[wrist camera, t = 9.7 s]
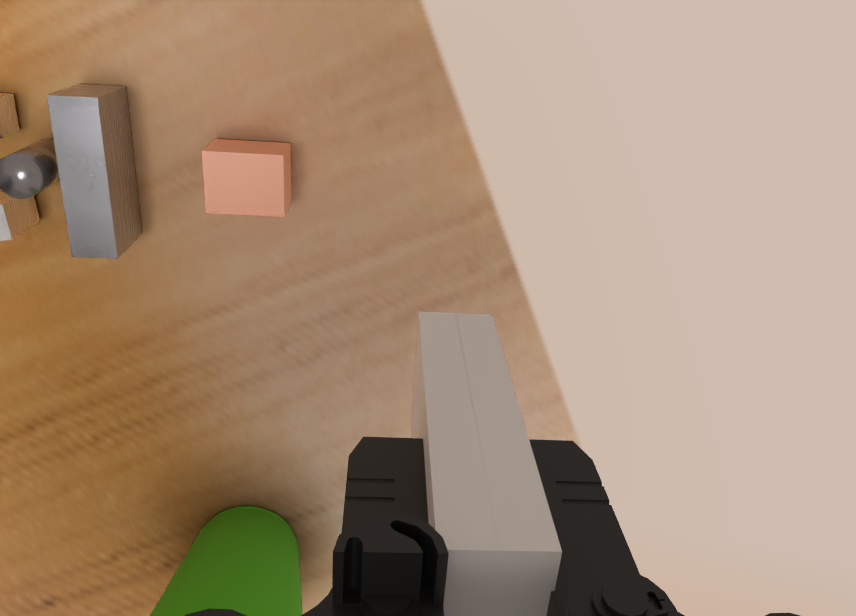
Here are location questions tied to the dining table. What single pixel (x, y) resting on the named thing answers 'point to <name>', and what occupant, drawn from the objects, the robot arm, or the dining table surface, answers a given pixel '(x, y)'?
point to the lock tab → (247, 177)
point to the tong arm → (16, 215)
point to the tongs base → (81, 166)
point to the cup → (238, 568)
